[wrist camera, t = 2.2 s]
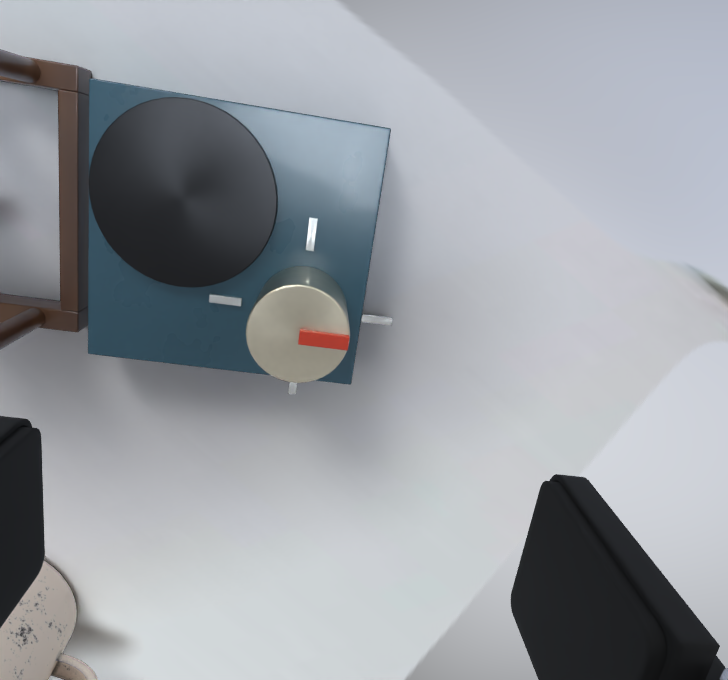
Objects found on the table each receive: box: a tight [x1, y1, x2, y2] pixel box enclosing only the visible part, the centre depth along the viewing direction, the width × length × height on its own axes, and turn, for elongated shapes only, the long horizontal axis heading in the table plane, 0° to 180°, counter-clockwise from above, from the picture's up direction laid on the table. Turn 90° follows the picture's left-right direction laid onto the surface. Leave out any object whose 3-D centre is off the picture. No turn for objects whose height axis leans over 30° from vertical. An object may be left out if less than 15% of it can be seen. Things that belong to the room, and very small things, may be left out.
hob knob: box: [246, 266, 350, 383], centre depth 23 cm, size 4×4×4 cm
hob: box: [88, 78, 393, 395], centre depth 25 cm, size 13×12×3 cm
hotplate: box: [89, 97, 278, 288], centre depth 23 cm, size 8×8×1 cm
